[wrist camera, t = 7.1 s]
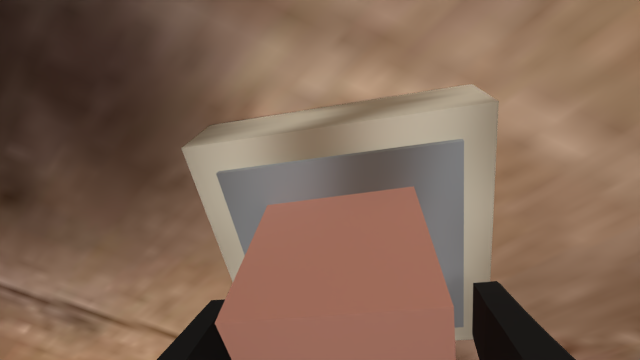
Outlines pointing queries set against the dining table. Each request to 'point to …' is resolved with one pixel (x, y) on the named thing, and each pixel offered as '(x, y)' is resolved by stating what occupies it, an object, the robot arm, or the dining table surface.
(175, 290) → the dining table surface
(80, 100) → the dining table surface
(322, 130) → the base
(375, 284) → the block
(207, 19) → the dining table surface
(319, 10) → the dining table surface
